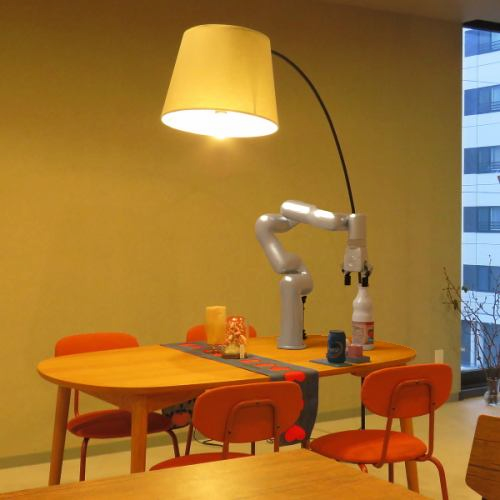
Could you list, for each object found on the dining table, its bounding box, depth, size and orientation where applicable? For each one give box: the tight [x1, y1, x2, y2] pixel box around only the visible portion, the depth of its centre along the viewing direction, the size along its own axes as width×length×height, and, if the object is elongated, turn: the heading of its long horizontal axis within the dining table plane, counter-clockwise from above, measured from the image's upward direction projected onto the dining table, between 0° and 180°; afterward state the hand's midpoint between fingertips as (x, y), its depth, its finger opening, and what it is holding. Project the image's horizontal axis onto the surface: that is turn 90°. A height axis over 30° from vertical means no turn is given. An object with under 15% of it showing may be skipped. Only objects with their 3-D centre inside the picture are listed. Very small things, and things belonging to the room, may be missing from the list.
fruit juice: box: [351, 283, 375, 351], centre depth 330 cm, size 9×9×28 cm
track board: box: [309, 358, 353, 368], centre depth 291 cm, size 15×8×1 cm, turn 39°
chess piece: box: [301, 295, 308, 341], centre depth 361 cm, size 8×8×20 cm
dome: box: [346, 337, 351, 354], centre depth 303 cm, size 8×8×6 cm
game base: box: [325, 352, 371, 364], centre depth 300 cm, size 16×8×2 cm, turn 39°
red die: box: [348, 343, 364, 357], centre depth 297 cm, size 4×4×4 cm
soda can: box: [326, 329, 347, 364], centre depth 288 cm, size 7×7×12 cm
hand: (356, 286), depth 312 cm, fingers open, 9 cm apart
